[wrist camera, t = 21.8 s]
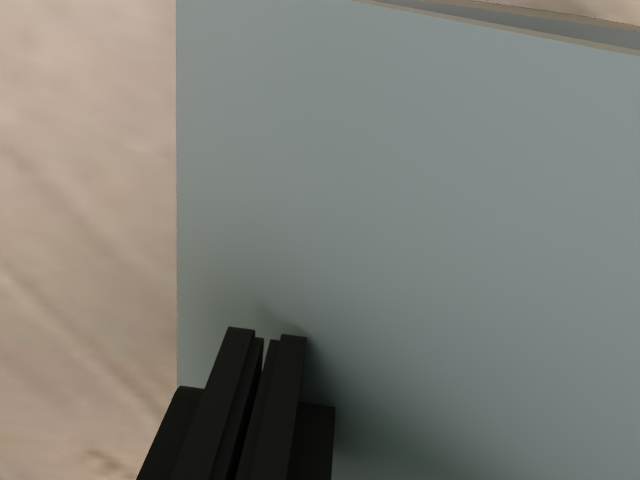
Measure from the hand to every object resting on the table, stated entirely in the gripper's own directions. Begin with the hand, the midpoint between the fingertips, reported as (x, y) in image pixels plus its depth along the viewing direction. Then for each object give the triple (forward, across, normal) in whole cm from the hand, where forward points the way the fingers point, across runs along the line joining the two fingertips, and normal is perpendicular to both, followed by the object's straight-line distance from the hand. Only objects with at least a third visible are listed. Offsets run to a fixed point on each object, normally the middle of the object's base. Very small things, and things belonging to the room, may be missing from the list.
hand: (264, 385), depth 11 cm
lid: (+5, +3, 0) cm, 6 cm away
